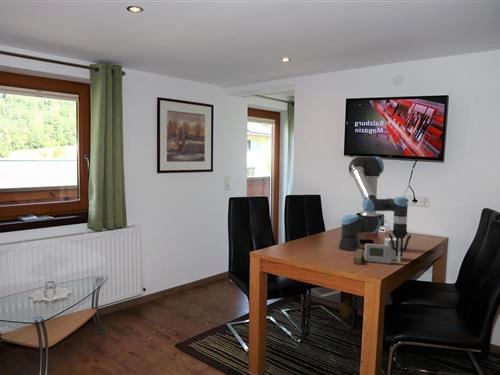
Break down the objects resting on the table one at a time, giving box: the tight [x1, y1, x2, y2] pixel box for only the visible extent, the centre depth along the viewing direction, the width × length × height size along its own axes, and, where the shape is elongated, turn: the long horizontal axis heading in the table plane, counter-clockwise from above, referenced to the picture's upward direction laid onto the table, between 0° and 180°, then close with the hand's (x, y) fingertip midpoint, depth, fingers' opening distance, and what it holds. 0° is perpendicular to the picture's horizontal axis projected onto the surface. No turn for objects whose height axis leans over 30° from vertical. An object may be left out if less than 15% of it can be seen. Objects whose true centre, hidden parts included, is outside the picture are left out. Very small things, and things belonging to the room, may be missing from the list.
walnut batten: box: [353, 248, 364, 266], centre depth 248 cm, size 24×4×4 cm, turn 160°
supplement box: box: [383, 237, 401, 261], centre depth 251 cm, size 7×7×13 cm
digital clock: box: [363, 243, 393, 265], centre depth 242 cm, size 16×9×11 cm, turn 56°
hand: (398, 261), depth 238 cm, fingers closed
